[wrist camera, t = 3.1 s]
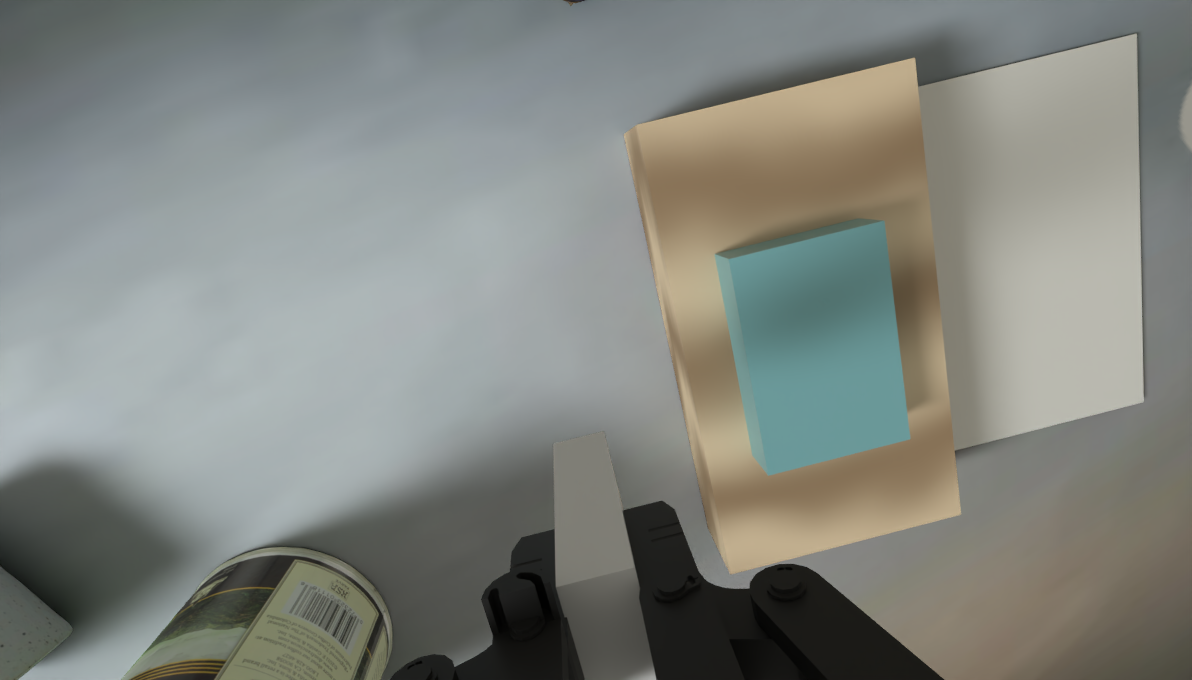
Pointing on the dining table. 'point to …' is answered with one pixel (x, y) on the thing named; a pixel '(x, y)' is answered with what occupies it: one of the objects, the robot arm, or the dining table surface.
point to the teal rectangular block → (815, 344)
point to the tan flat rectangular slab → (773, 210)
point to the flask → (573, 1)
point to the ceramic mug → (25, 628)
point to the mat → (1037, 238)
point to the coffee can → (275, 623)
